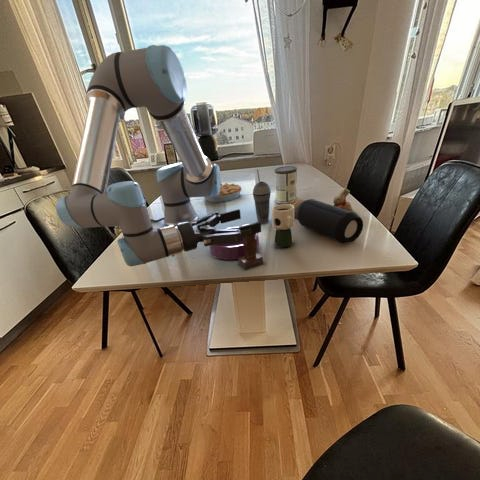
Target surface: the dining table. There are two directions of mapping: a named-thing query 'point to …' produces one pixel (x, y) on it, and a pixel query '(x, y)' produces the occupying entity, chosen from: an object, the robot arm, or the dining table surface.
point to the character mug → (283, 224)
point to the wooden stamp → (250, 253)
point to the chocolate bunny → (342, 200)
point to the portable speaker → (330, 220)
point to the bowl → (231, 249)
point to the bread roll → (296, 205)
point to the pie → (226, 193)
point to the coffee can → (285, 184)
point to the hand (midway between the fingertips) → (249, 219)
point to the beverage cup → (262, 200)
